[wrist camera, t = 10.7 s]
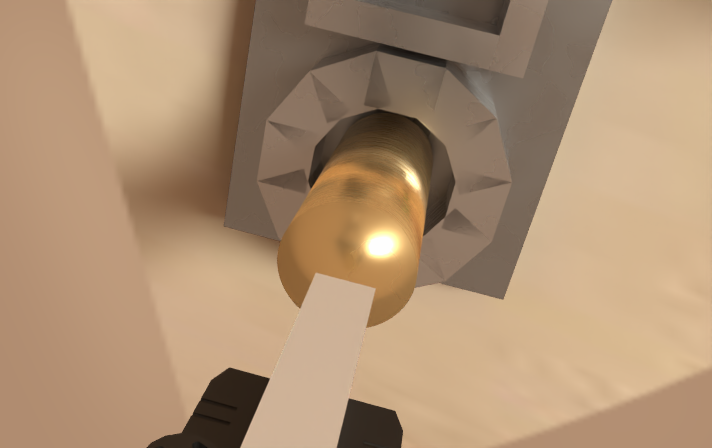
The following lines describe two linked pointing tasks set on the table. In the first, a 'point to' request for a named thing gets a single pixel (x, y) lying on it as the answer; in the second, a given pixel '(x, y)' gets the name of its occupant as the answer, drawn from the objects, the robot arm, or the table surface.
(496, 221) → the jig
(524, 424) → the table surface
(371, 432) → the robot arm
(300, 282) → the brass cylinder peg
